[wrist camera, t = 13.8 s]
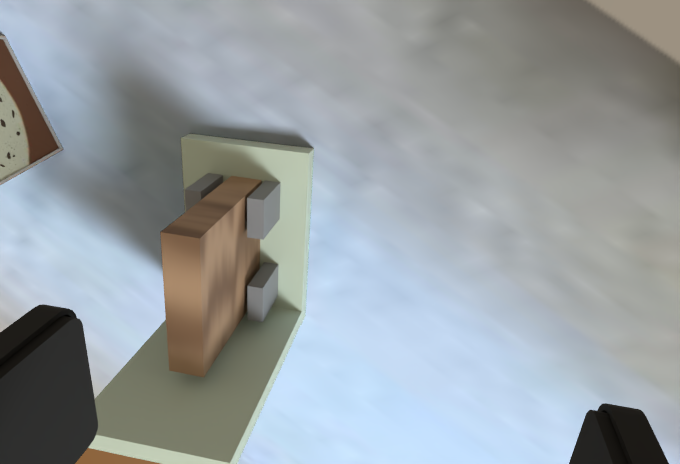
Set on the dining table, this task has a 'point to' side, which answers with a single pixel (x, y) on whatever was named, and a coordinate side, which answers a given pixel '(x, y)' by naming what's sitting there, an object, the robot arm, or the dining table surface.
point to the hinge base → (247, 339)
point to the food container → (21, 120)
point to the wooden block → (208, 275)
